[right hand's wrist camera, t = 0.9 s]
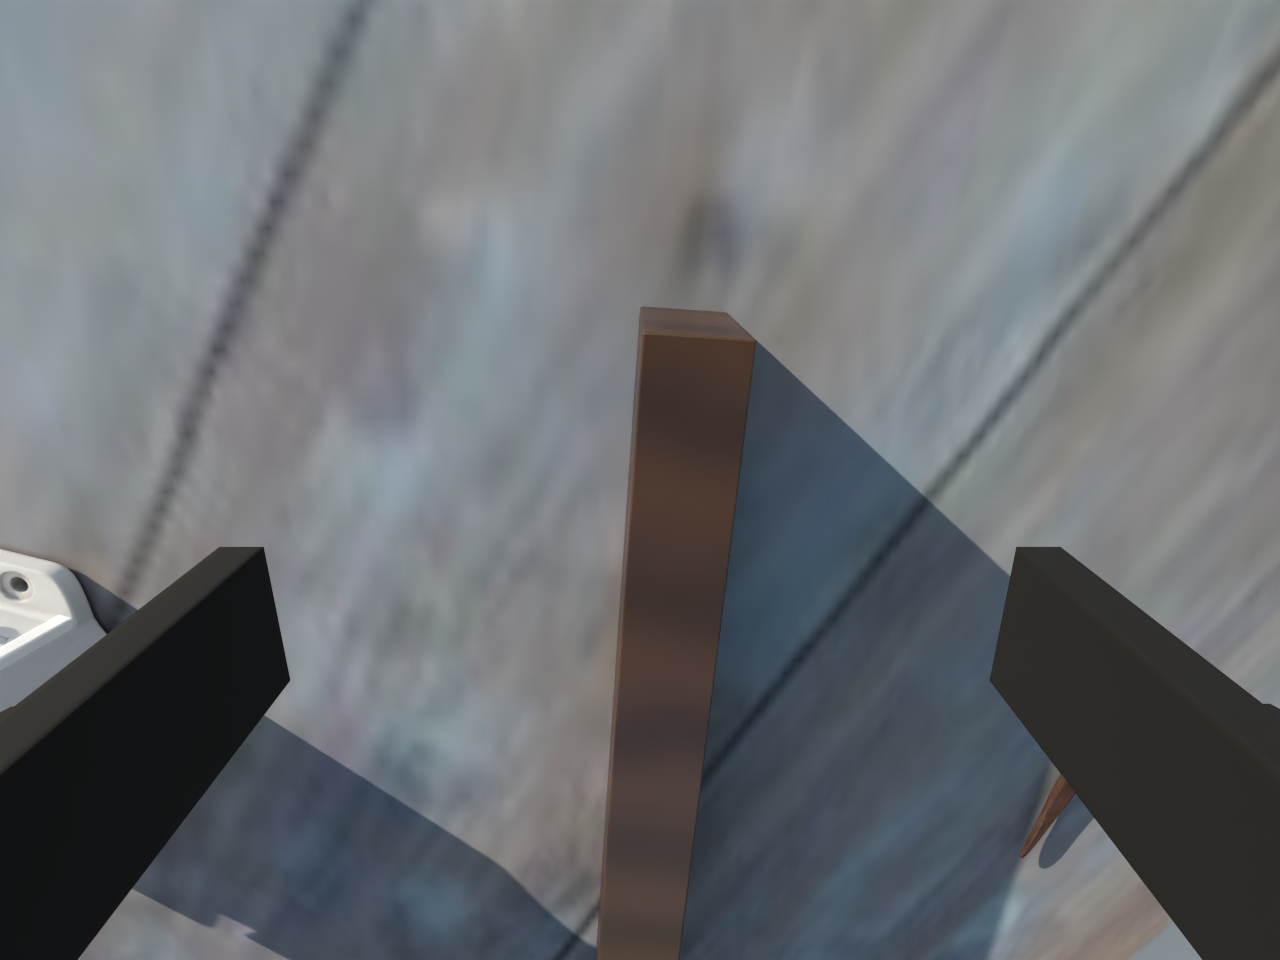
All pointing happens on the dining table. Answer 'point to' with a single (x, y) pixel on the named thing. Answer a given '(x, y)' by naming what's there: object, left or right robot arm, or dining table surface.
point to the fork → (1049, 813)
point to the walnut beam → (669, 617)
